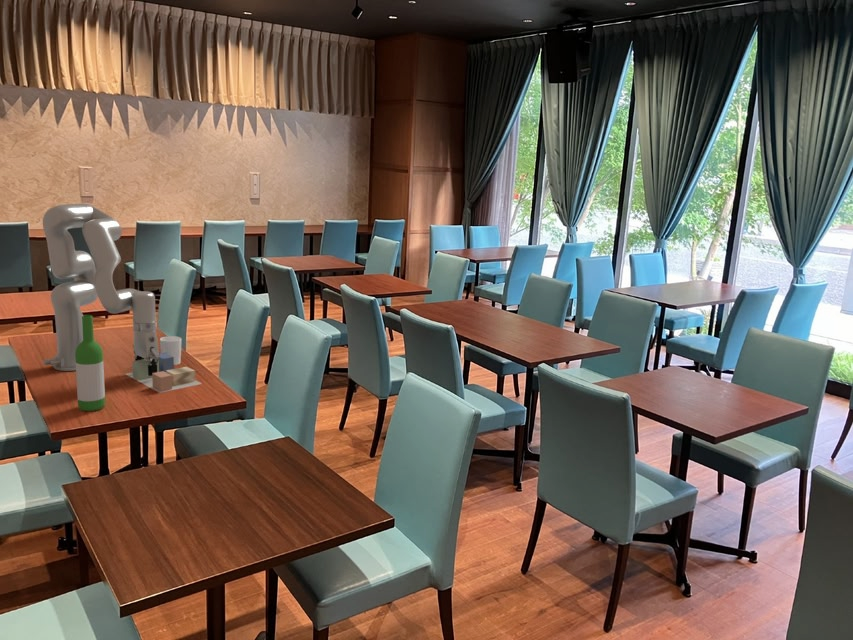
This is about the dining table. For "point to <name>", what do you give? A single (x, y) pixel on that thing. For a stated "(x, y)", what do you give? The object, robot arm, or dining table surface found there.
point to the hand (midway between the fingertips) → (146, 371)
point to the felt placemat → (149, 383)
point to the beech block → (182, 375)
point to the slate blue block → (165, 362)
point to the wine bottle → (89, 369)
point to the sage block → (141, 369)
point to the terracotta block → (162, 381)
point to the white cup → (171, 347)
